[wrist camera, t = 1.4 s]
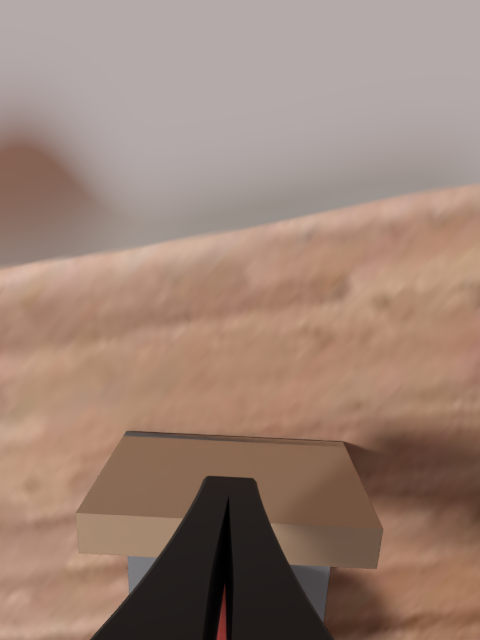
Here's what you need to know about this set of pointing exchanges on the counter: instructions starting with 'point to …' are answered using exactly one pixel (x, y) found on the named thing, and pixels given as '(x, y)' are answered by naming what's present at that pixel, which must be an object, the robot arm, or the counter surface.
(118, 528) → the l-shaped bracket
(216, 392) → the counter surface
